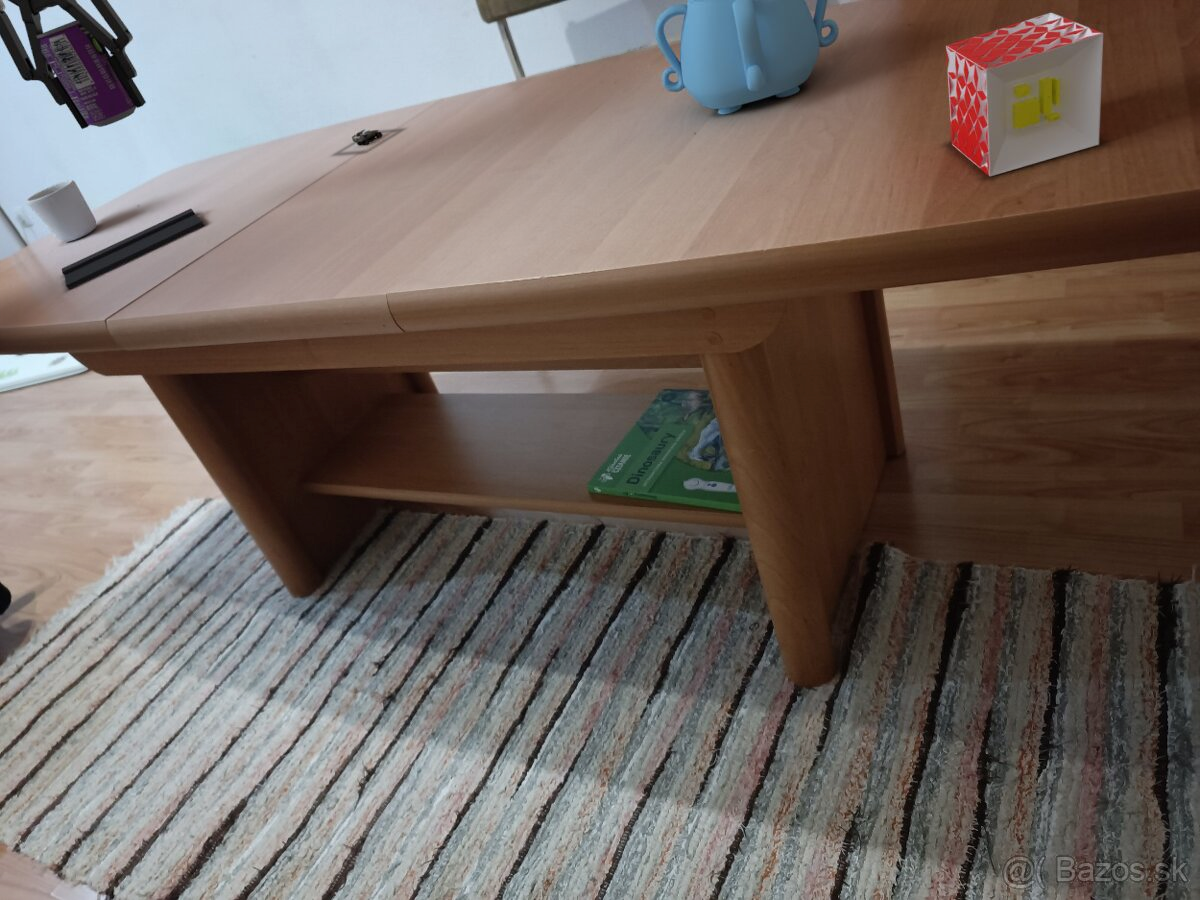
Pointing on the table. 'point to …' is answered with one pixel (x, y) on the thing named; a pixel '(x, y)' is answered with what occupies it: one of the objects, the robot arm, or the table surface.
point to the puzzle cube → (1025, 92)
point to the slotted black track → (130, 248)
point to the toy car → (366, 137)
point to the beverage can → (86, 74)
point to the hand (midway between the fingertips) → (114, 115)
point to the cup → (63, 211)
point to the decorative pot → (743, 49)
